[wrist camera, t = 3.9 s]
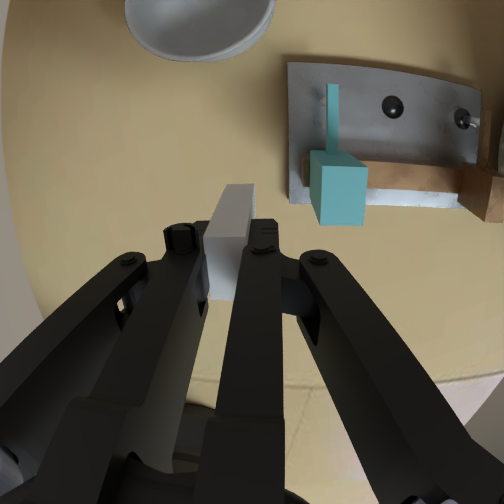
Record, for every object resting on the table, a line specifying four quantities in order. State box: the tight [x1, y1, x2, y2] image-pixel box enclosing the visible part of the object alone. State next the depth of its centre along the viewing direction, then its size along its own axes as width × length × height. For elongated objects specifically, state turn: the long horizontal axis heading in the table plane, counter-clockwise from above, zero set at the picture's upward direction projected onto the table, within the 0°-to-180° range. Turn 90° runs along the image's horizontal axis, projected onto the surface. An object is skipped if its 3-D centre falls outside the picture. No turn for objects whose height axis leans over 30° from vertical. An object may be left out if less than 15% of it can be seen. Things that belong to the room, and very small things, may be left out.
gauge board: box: [287, 62, 504, 223], centre depth 23 cm, size 20×13×9 cm, turn 92°
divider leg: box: [309, 84, 368, 226], centre depth 22 cm, size 3×9×8 cm, turn 2°
